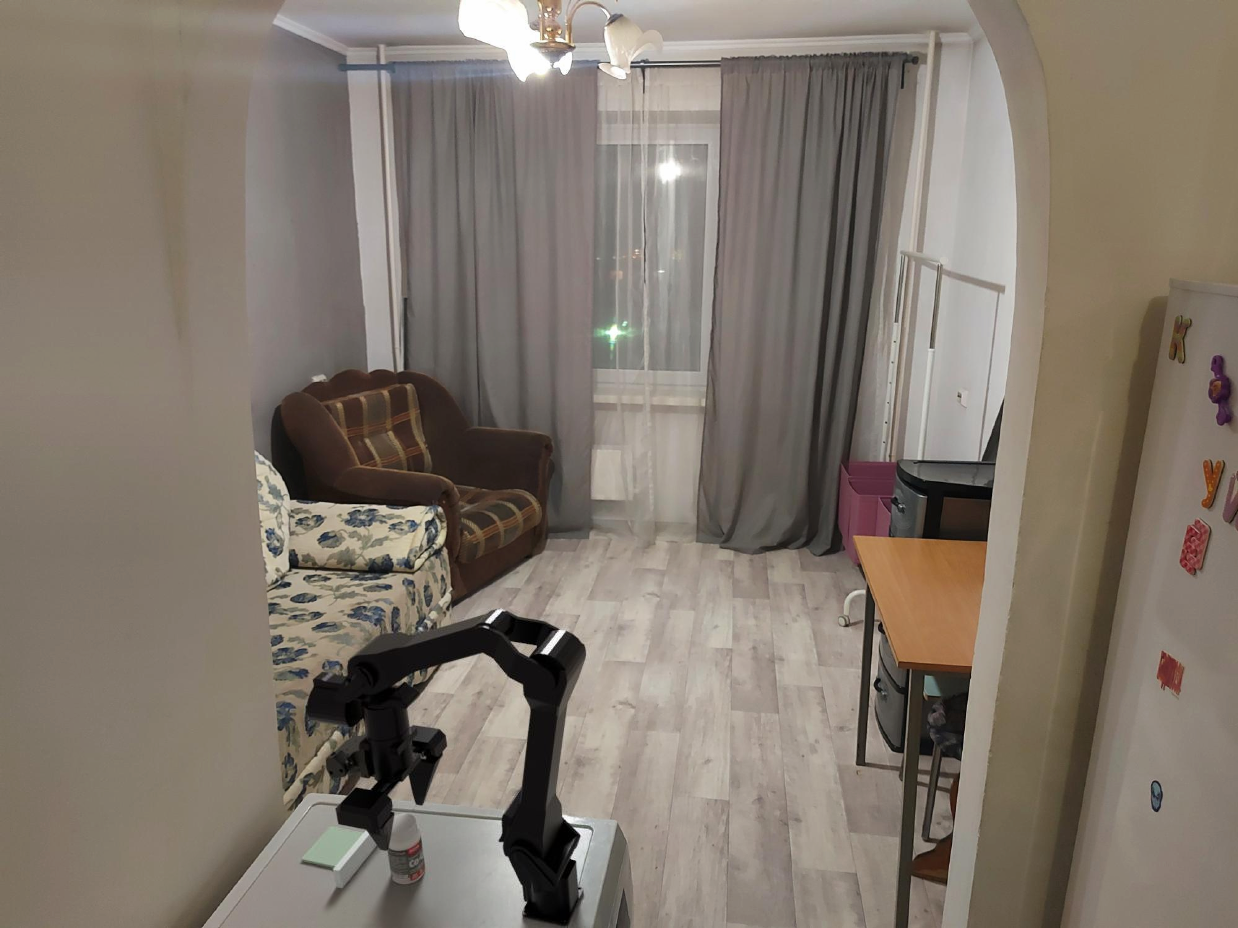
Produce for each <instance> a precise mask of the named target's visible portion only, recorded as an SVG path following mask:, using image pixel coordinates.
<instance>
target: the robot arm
mask: <svg viewBox="0 0 1238 928" xmlns="http://www.w3.org/2000/svg"><path fill="white" fill-rule="evenodd" d="M513 643H519V644H524V645H530V646H536V647H535V648H534V650H533V651H532V652H531V653H530V655H529V656H528V655H526V654H524V653H522V652H520V651H519V650H518V648H517V647H516V646H515V645H514V644H513ZM480 654H483V655H486V656H488V657H489V658H491V659H493V660H494V662H495V663H496V664H497V666H498V667H499V668H500V669H501V670H502V672H503V673H504V674H505V675H506V676H507V677H508V678H509V679H511V680H513V681H515V682H517V683H518V684H521V685H522V694H523V697H524V698H525V700H526V702H527V705H528V706H529V719H528V730H527V737H526V746H525V755H524V762H523V771H522V772H523V773H522V780H521V781H522V782H521V787H519V790H518V791H517V793H515V795H514V797H513V798H512V800H511V802H510V803H509V805H508V806H507V808H506V809H505V811H504V813H503V814H502V816H501V835H500V837H499V839H498V843H503V844H502V851H503V854H504V856H505V857H506V858H508V860H509V863H510V865H511V866H512V868H513V871H514V873H515V875H516V877H517V880H518V882H519V884H520V885H521V886H522V887H521V888H522V896H523V897H522V898H523V902H524V903H525V905H524V907H523V909H522V910H521V913H522V914H521V915H522V917H523V918H527V919H531V920H536V921H541V922H545V923H549V924H555V925H558V926H563V927H565V926H566V927H567V926H568V925H569V924H570V922H571V919H572V917H573V915H574V912H575V911H576V909H577V906H578V904H579V902H580V900H581V898H582V895H583V893H584V886H582V885H579V879H578V868H577V867H578V866H577V860H575V859H572V856H573V854H574V852H575V850H576V849H577V847H578V845H579V843H580V839H581V837H582V835H581V834H580V833H579V832H578V831H577V830H576V829H575V828H574V827H573V826H572V825H571V824H570V823H569V822H568V821H567V820H566V819H565V818H564V817H563V806H562V803H561V801H560V799H559V797H558V795H557V787H558V780H559V779H558V778H559V771H560V763H561V755H562V748H563V741H564V733H565V727H566V726H565V724H566V718H567V709H568V705H569V701H570V699H571V697H572V694H573V692H574V689H575V687H576V685H577V683H578V680H579V678H580V675H581V673H582V670H583V667H584V665H585V661H586V657H587V648H586V646H585V644H584V643H582V641H581V640H580V639H579V638H578V637H577V636H576V635H575V634H574V633H573V632H570V631H567V630H563V629H561V628H560V627H556V626H555V625H553V624H551V623H549V622H547V621H545V620H539V619H533V618H529V617H523V616H522V617H521V616H519V615H516V614H514V613H513V612H509V611H508V610H506V609H503V608H496V609H490V610H489V611H487V612H486V613H483V614H481V615H477V616H473V617H471V618H468V619H464V620H461V621H457V622H454V623H451V624H447V625H444V626H440V627H438V628H434V629H431V630H428V631H423V632H421V633H416V634H409V633H405V632H402V631H399V632H397V631H396V632H389V633H380V634H379V635H377V636H375V637H373V639H372V640H370V641H369V642H367V644H365V646H363V647H362V648H361V649H360V650H358V651H357V652H356V653H354V655H352V656H351V657H350V658H349V659H348V660H347V665H346V671H347V675H341V674H340V675H339V674H334V673H331V672H328V671H321V672H320V673H319V674H317V675H316V676H315V677H314V678H312V685H313V687H312V688H311V690H310V693H309V696H308V698H307V704H306V708H305V711H306V715H307V717H308V719H309V720H310V721H311V722H314V723H318V724H319V723H321V724H328V725H334V726H339V727H346V728H354V727H355V726H357V725H358V724H359V723H360V722H361V721H362V720H363V721H362V722H363V727H364V733H365V734H362V735H357V736H352V737H350V738H348V739H346V740H345V741H344V742H343V743H342V744H341V745H340V746H338V748H337V749H335V751H332V752H331V753H330V754H329V755H328V756H327V757H326V758H325V768H326V771H327V773H328V775H329V777H330V778H332V779H334V780H336V779H340V778H341V779H342V778H346V776H348V775H353V774H358V773H360V777H361V778H363V779H370V778H371V777H372V778H374V779H373V780H375V781H376V783H375V784H374V785H373V786H372V787H371V788H370V789H368V788H362V787H357V786H356V787H354V788H353V789H352V790H351V791H350V792H349V793H348V794H347V795H346V797H344V799H343V800H342V801H341V802H339V804H338V805H337V806H336V807H335V813H336V814H335V815H336V820H337V824H338V825H340V826H345V827H350V828H355V829H359V830H360V829H361V830H365V831H367V832H368V833H369V835H370V836H371V838H372V839H373V840H374V842H375V843H376V845H377V846H376V847H378V849H379V850H380V851H383V852H388V851H387V850H388V848H389V844H390V839H391V833H392V827H393V821H394V816H396V815H395V813H396V812H394V811H392V810H393V808H394V805H393V799H392V798H391V797H390V795H391V794H392V793H393V792H394V790H395V789H396V788H398V786H399V784H401V783H403V782H404V781H405V780H406V778H407V777H408V779H409V784H410V788H411V792H412V796H413V801H414V803H415V805H417V806H423V805H424V804H425V801H426V798H427V796H428V793H429V790H430V788H431V784H432V782H433V779H434V776H435V774H436V772H437V769H438V766H439V764H440V762H441V759H442V758H443V756H444V751H445V750H446V749H447V747H448V742H447V741H448V740H447V735H446V733H444V732H443V731H442V730H441V729H440V728H435V727H430V726H429V727H428V726H423V725H415V724H413V725H411V723H410V719H409V713H408V708H409V707H410V706H411V705H412V703H414V702H415V701H416V699H418V698H419V696H420V694H421V692H420V691H419V689H417V688H416V687H413V686H412V685H410V684H408V682H407V681H403V682H402V683H401V684H398V683H400V682H401V681H402V680H404V679H406V678H407V677H409V676H410V675H412V674H414V673H416V672H419V671H423V670H426V669H430V668H434V667H437V666H441V665H445V664H447V663H451V662H455V661H460V660H463V659H467V658H469V657H473V656H476V655H480ZM410 725H411V726H410Z"/></svg>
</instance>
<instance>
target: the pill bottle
mask: <svg viewBox="0 0 1238 928" xmlns="http://www.w3.org/2000/svg"><path fill="white" fill-rule="evenodd" d="M417 823H418V822H417V819H416V817H415V816H414V815H413V814H410V813H399V814H396V815H394V821H393V827H392V833H391V839H390V844H389V848H388V850H387V851H386V852H387V857H388V863H389V870H390V876H391V879H392V881H394V882H395V883H397V884H399V885H410V884H413V883H415V882H417V881H418V880H420V879H422V877H423V876H424V874H425V872H426V860H425V856H424V848H423V840H422V833H421V831H420V829H419V828H418V824H417Z"/></svg>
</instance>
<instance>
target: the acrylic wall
mask: <svg viewBox="0 0 1238 928" xmlns="http://www.w3.org/2000/svg"><path fill="white" fill-rule="evenodd" d="M362 833H363V834H362V835H361V837H360V838H359V839H358V840H357V841H356V843H355V844H354V845H353V846H352V847H351V848H350V850H349V851H348V852H347V853H346V854H345V856H344V857H343V858H342V859H341V860H340V862H339V863H338V864H337V865H336V866H335V867H334V868H332V872H333V873H332V874H333V878H334V883H335V888H339V889H343V888H344V887H345V886H346V884H347V883H348V882H349V881H350V880H351V878H352V877H353V876H354V874H355V873H357V871H358V870H359V868H360V867H361V866H362V865H363V863H364V862H365V861H366V859H367V858H368V857H369V856H370V855H371V853H372V852H373V851H375V850H374V849H376V848H377V847H378V846H377V845H376V843H375V842H374V840H373V839H372V838H371V836H370V835H369V833H368V832H367V831H366V830H365V831H364V832H362Z"/></svg>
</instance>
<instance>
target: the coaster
mask: <svg viewBox="0 0 1238 928" xmlns="http://www.w3.org/2000/svg"><path fill="white" fill-rule="evenodd" d="M363 833H364V832H362V831H356V830H351V829H347V828H341V827H336V826H331V825H330V827H328V829H326V831H325V832H324V833H323V834H322V835H321V836H320V838H318V839H317V841H315V843H314V844H313V845H312V846H311V847H310V849H309V850H308V851H307V852H306V853H305V854H304V855H303V856H302V858H300V860H301V862H303V863H304V862H305V863H308V864H312V865H318V866H322V867H326V868H331V869H334V867H335V866H336V865H337V864H338V863H339V862H340V860H341V859H342V858H343V857H344V856H345V854H346V853H347V852H348V851H349V850H350V848H351V847H352V846H353V845H354V844H355V843H356V841H357V840H358V839H359V838H360V837H361V835H362V834H363Z"/></svg>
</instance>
